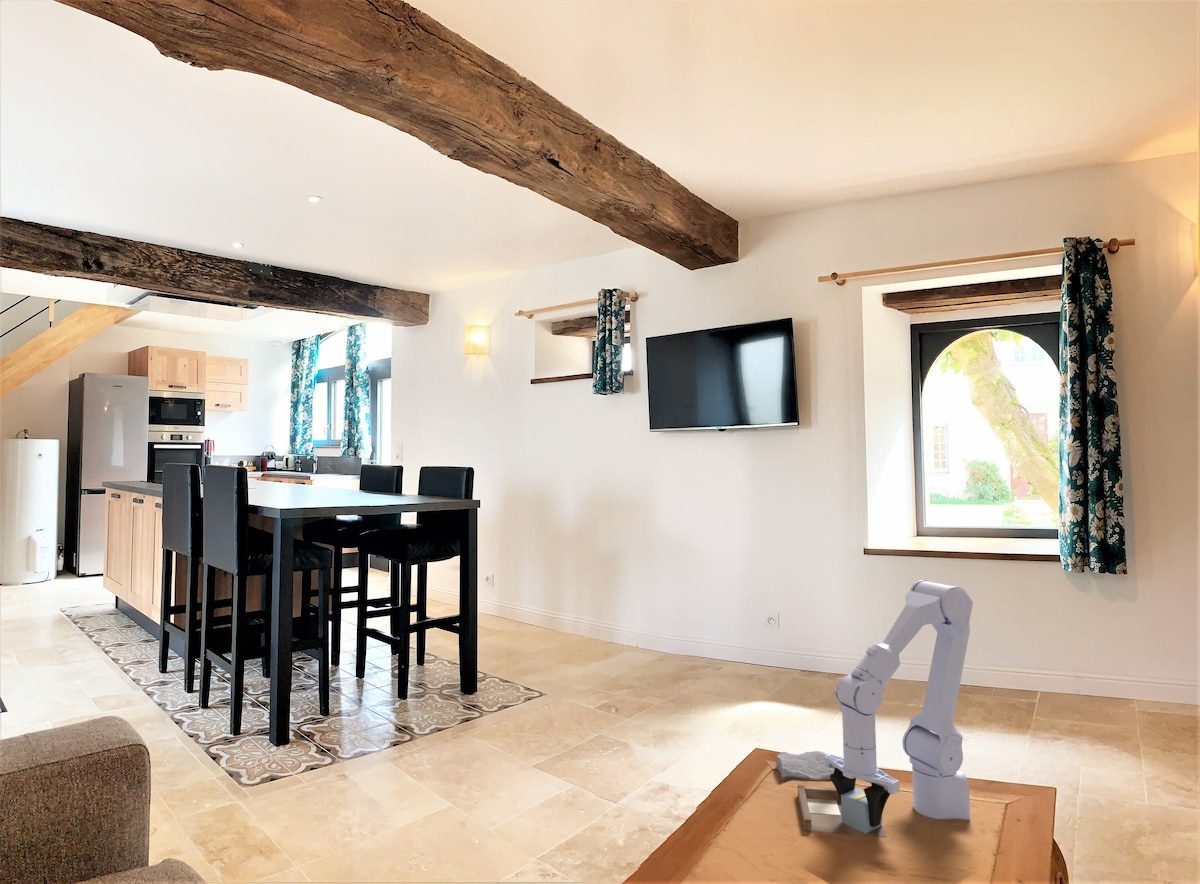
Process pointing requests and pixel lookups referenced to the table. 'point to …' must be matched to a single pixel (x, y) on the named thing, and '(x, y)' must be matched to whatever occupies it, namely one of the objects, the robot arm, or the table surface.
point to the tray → (826, 812)
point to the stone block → (803, 766)
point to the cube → (856, 811)
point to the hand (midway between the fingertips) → (861, 819)
